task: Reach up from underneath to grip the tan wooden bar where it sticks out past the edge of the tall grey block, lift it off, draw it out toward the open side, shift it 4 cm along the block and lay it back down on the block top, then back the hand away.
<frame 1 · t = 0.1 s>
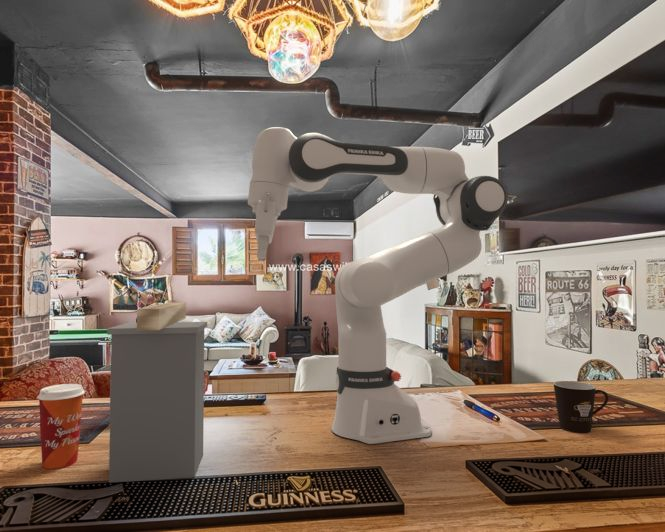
hand: (261, 259, 99), 39 cm above the table, tool pointing down, fingers open, 8 cm apart
energy drink: (122, 425, 105), on the table
tall grey block: (159, 467, 80), on the table
coffee mug: (582, 430, 101), on the table
paper cup: (60, 463, 83), on the table
tan wooden bar: (164, 323, 84), point 26 cm above the table, touching tall grey block
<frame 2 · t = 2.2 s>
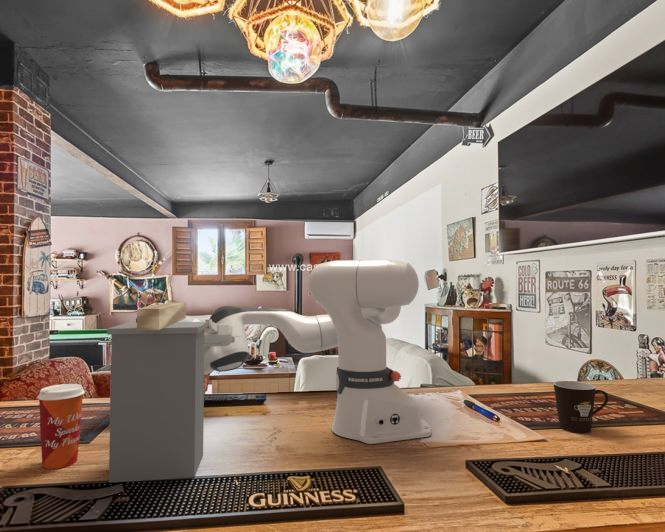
hand: (188, 322, 108), 24 cm above the table, tool pointing upward, fingers open, 8 cm apart
nothing on the table moved.
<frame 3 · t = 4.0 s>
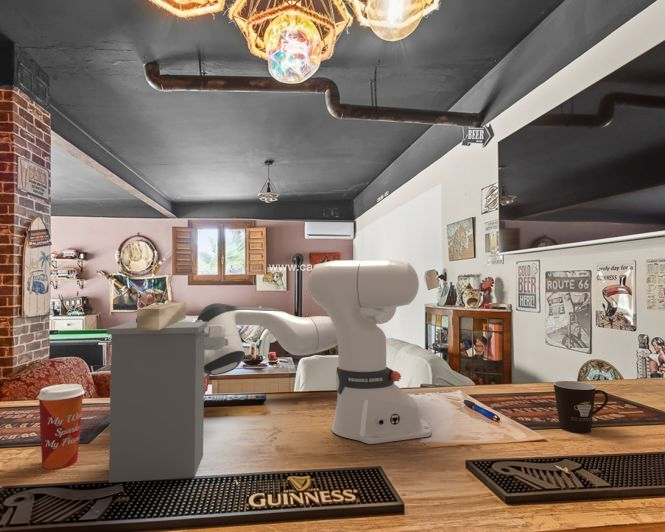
hand: (176, 323, 97), 25 cm above the table, tool pointing upward, fingers open, 8 cm apart
nothing on the table moved.
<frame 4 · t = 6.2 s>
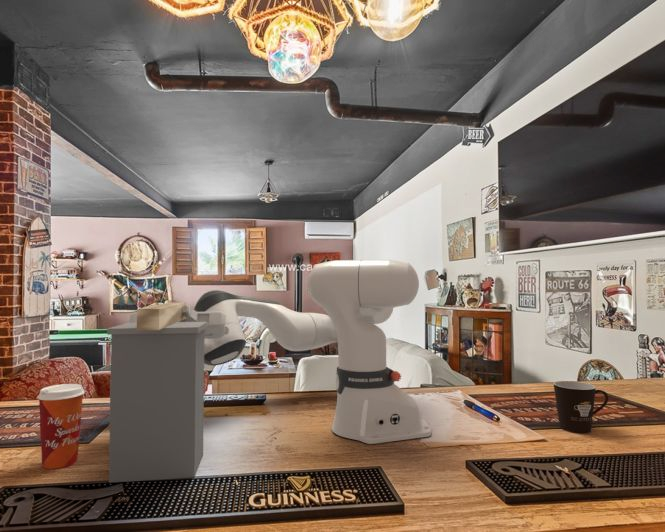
hand: (173, 309, 91), 28 cm above the table, tool pointing upward, fingers closed on tan wooden bar, 3 cm apart
tan wooden bar: (164, 323, 84), point 26 cm above the table, touching gripper, tall grey block
everything else where it was.
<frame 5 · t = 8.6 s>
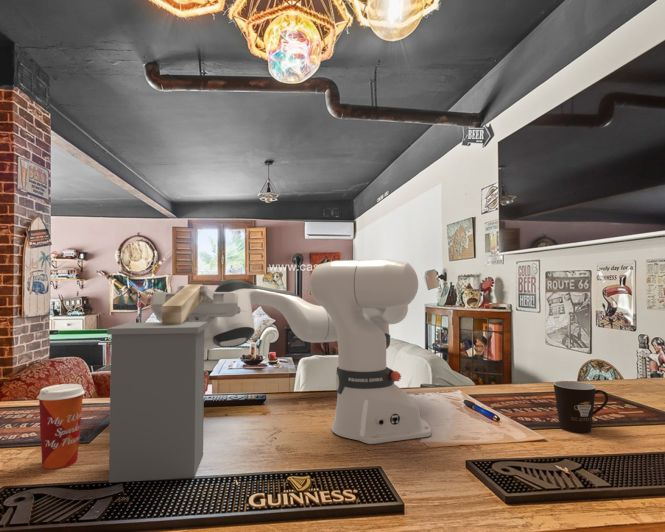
hand: (192, 288, 101), 32 cm above the table, tool pointing upward, fingers closed on tan wooden bar, 4 cm apart
tan wooden bar: (185, 310, 94), point 28 cm above the table, tilted 10°, touching gripper
everything else where it was.
when the fingers open (29 cm above the table, at t = 11.2 s): tan wooden bar stays where it is, resting on tall grey block.
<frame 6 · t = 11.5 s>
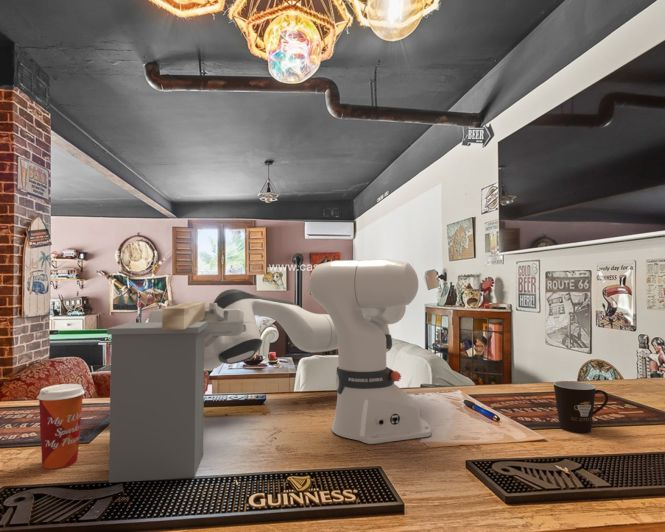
hand: (193, 306, 92), 29 cm above the table, tool pointing upward, fingers open, 7 cm apart
tan wooden bar: (186, 323, 85), point 26 cm above the table, touching tall grey block
everything else where it was.
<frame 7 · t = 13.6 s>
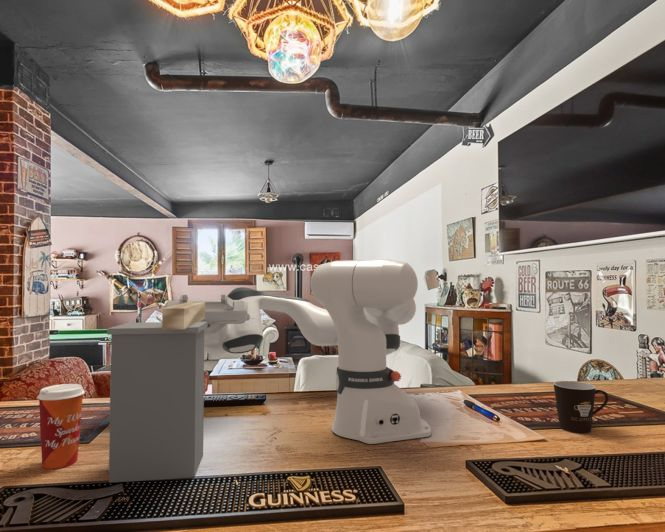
hand: (203, 297, 105), 30 cm above the table, tool pointing upward, fingers open, 8 cm apart
nothing on the table moved.
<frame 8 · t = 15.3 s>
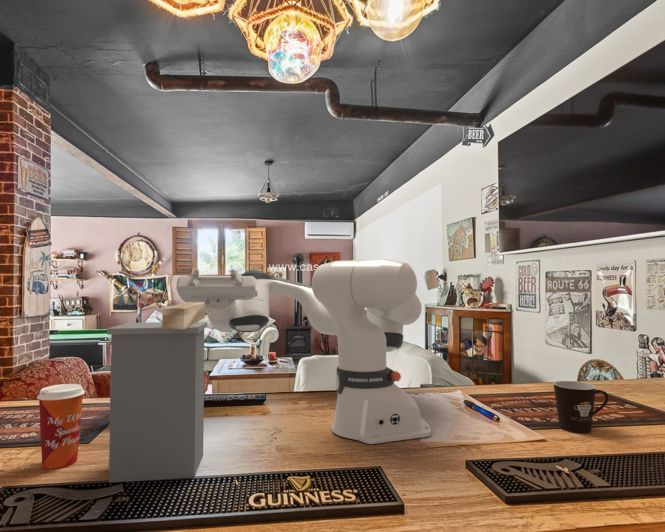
hand: (214, 272, 110), 36 cm above the table, tool pointing upward, fingers open, 8 cm apart
nothing on the table moved.
at the end: tan wooden bar inside the target area (0.6 cm from its centre), point 26.0 cm above the table; the gripper is holding nothing; tan wooden bar moved 4.0 cm from its start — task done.
